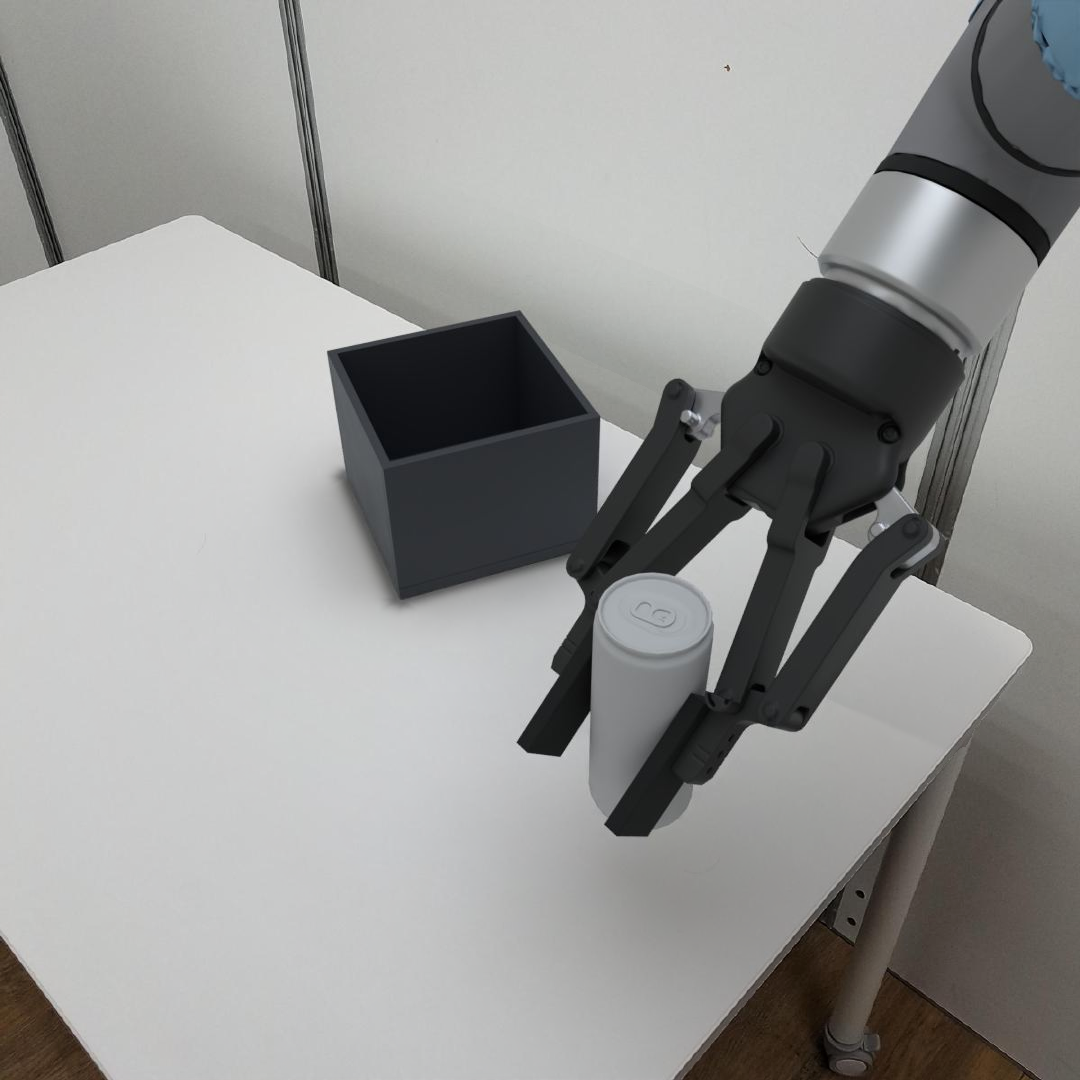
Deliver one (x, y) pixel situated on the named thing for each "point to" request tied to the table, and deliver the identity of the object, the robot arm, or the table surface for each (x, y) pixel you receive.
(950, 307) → the robot arm
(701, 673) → the beverage can
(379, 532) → the trash bin
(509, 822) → the table surface
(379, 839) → the table surface
